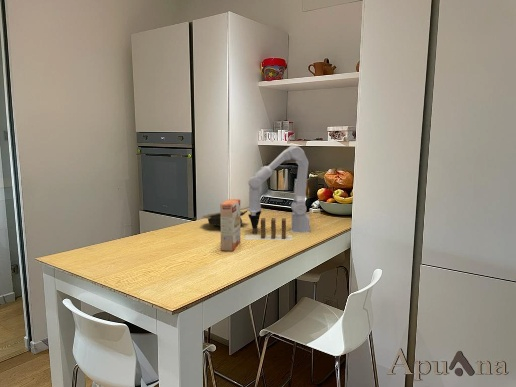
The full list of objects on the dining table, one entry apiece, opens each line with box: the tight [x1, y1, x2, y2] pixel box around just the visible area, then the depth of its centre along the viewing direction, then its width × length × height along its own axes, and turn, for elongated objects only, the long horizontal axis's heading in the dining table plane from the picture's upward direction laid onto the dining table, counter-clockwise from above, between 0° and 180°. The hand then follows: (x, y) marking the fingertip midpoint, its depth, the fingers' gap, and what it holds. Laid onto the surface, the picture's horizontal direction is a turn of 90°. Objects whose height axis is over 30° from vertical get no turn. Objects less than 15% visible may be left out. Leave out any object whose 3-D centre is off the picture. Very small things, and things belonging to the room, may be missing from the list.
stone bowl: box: [201, 210, 248, 227], centre depth 216 cm, size 25×25×9 cm
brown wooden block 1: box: [252, 226, 259, 234], centre depth 200 cm, size 2×5×9 cm, turn 174°
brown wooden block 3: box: [270, 217, 277, 239], centre depth 189 cm, size 2×5×9 cm, turn 174°
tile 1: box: [281, 217, 287, 239], centre depth 189 cm, size 2×5×9 cm, turn 174°
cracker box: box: [219, 198, 241, 252], centre depth 175 cm, size 14×6×21 cm, turn 168°
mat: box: [243, 234, 293, 241], centre depth 190 cm, size 23×9×1 cm, turn 84°
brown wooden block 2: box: [260, 217, 266, 239], centre depth 190 cm, size 2×5×9 cm, turn 174°
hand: (255, 226), depth 200 cm, fingers open, 6 cm apart
